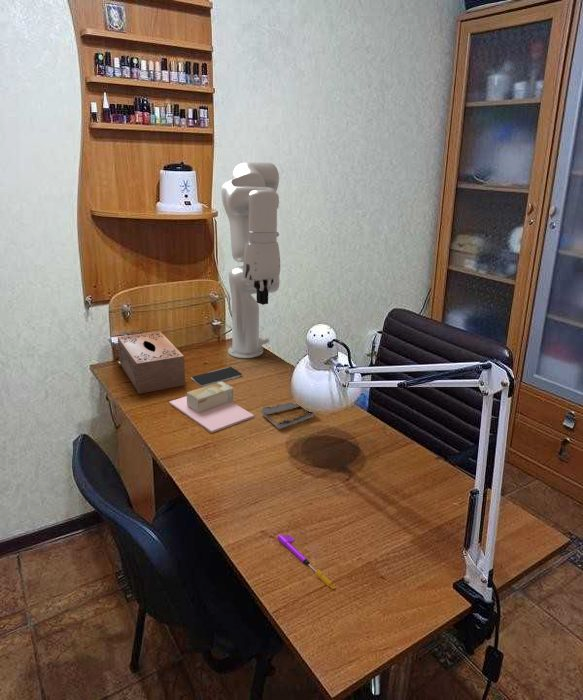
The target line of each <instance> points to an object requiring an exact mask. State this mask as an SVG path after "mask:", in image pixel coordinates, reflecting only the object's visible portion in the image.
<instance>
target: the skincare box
mask: <svg viewBox="0 0 583 700" xmlns="http://www.w3.org/2000/svg"><path fill="white" fill-rule="evenodd" d="M186 396H187V406H189V407H190V408H192V409H193V410H195V411H197V412H198V413H200V412H203V411H205V410H208V409H211V408H214V407H217V406H220V405H222V404H225V403H228V402H234V387H233V386H231V385H229V384H227V383H225V381H223V382H222V381H221V382H218V383H215V384H211V385H208V386H204V387H199V388H196V389H193V390H190V391H187V392H186Z"/></svg>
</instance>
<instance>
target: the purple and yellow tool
mask: <svg viewBox="0 0 583 700" xmlns="http://www.w3.org/2000/svg"><path fill="white" fill-rule="evenodd" d="M277 540H278V541H279V542H280V543H281V544H282V545H283V546H284V547H286V548H287V549H288V550H289V551H290V553H292V554H293V555H294V556H295V557H296V558H297V559H298V560H299V561H301V563H302V564H305V565H306V566H308V567H310V568H311V569H312V570H313V571H314V572H315V573H314V575H315V576H316V577H317V579H318V580H321V582H322V583H324V585H326V586H327V587H328V588H330V589H331V590H334V589H336V586H335V585H334V584H333V582H332V581H331V580H330V579H329V578H328V577H327V576H326V575H325V574H324V573H323V572H322V571H321V570H320V569H317V570H316V569H315V568H314V566H312V565H311V563H310V561H309V560H308V559H307V558H306V556H305V555H303V554H302V553H301V552H300V551H299V550H298V549H297V548H296V547H295V546H294V545H293V544H291V543H293V542H295V539H294V538H293V537H292V536H291V535H290V534H288V535H285V534H278V535H277Z"/></svg>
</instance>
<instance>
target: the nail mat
mask: <svg viewBox="0 0 583 700" xmlns="http://www.w3.org/2000/svg"><path fill="white" fill-rule="evenodd" d="M168 403H169V404H170V405H171V406H172V407H174V408H175V409H177V411H180V412H181V413H182V414H184V415H185V416H186V417H188V418H189V419H191V420H192V421H194V422H195V423H196V424H198V425H199V426H201V427H202V428H204V429H205V430H206V431H208V432H209V433H211V434H213V433H215V432H218V431H221V430H223V429H227V428H229V427H232V426H234V425H236V424H239V423H242V422H245V421H247V420H250V419H253V418H255V415H254V414H253V413H251V412H249V411H247V410H246V409H244V408H243V407H241V406H239V405H238V404H236V403H234V401H231V402H228V403H225V404H222V405H220V406H217V407H214V408H211V409H208V410H205V411H203V412H200V413H198V412H197V411H195V410H193V409H192V408H190V407H189V406H187V395H185V396H183V397H180V398H177V399H173V400H170V401H169V402H168Z"/></svg>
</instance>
